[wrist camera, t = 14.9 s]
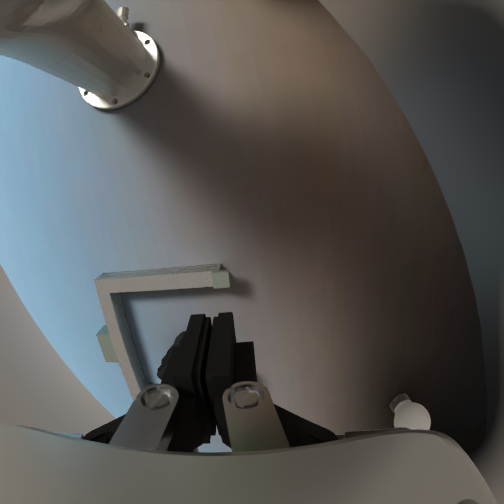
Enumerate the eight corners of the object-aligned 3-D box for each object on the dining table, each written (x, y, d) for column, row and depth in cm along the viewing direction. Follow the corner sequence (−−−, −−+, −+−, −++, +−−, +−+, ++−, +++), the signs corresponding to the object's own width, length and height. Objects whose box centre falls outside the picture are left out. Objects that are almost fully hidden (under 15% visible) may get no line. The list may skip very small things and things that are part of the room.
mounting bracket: (90, 274, 38) (78, 282, 35) (229, 262, 38) (228, 271, 34) (127, 390, 44) (120, 404, 40) (246, 391, 43) (246, 406, 40)
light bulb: (386, 417, 47) (405, 454, 36) (381, 398, 45) (402, 438, 34) (415, 401, 46) (437, 436, 35) (411, 381, 44) (437, 417, 34)
